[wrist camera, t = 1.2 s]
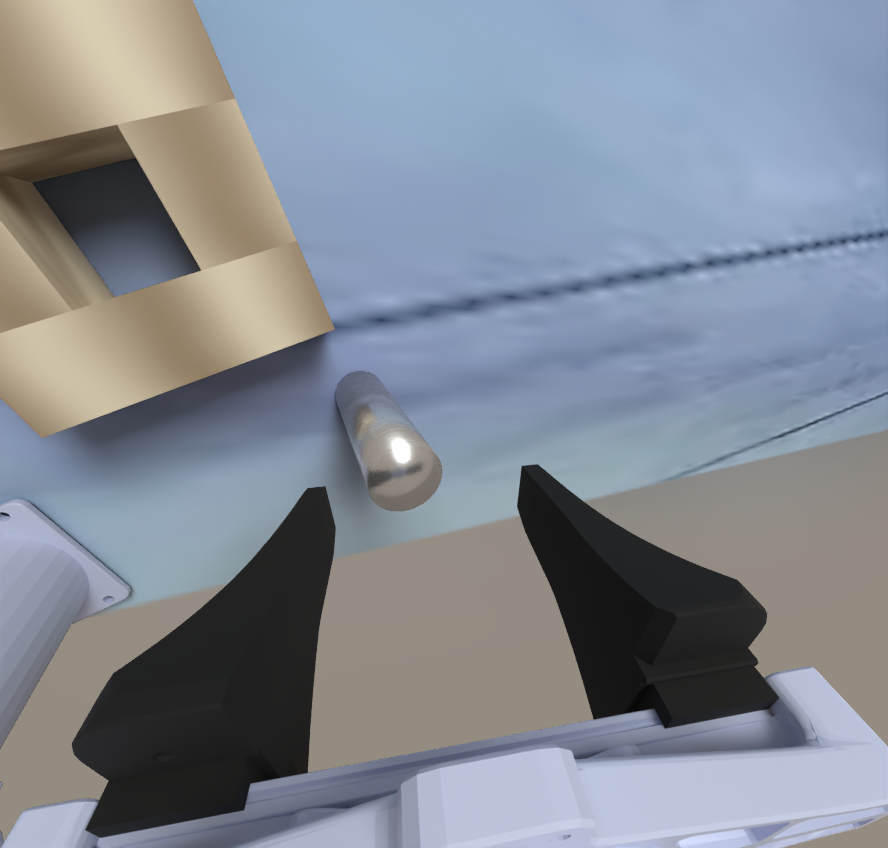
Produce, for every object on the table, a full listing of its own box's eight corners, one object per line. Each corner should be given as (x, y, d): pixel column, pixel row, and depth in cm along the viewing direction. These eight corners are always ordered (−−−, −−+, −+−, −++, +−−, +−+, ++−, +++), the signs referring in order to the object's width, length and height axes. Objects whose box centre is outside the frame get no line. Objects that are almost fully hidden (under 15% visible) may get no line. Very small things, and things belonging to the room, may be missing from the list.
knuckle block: (88, 402, 17) (41, 438, 14) (-204, 75, 11) (-410, 0, 8) (326, 316, 20) (334, 329, 16) (192, 10, 14) (163, -68, 10)
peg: (347, 424, 23) (384, 523, 14) (326, 382, 21) (355, 466, 13) (390, 405, 23) (450, 490, 15) (374, 363, 22) (430, 432, 14)
